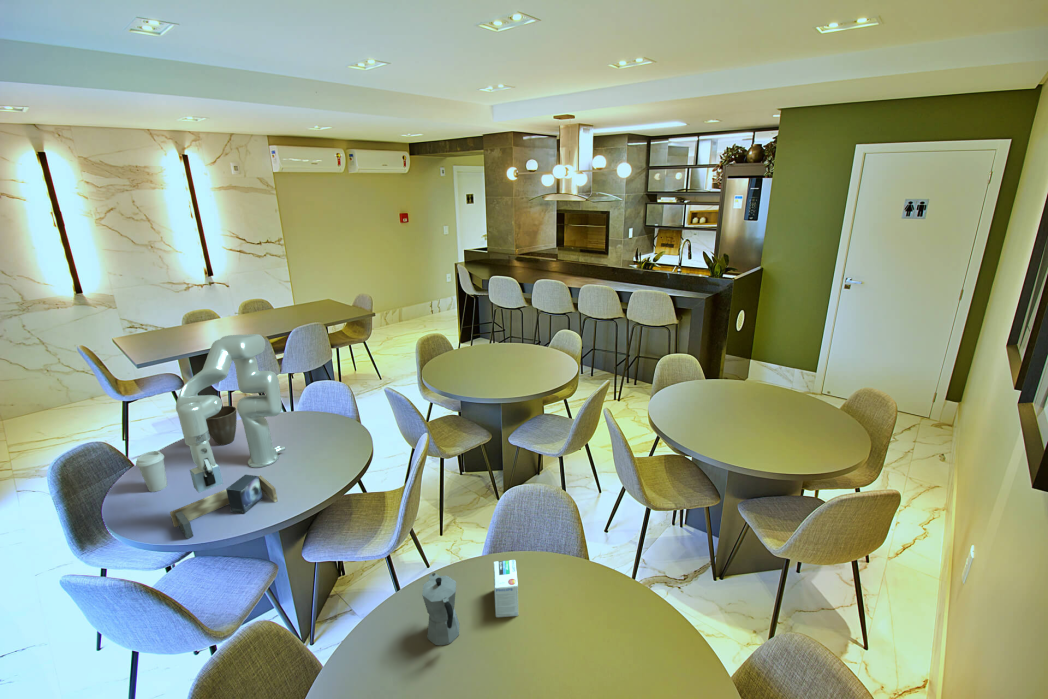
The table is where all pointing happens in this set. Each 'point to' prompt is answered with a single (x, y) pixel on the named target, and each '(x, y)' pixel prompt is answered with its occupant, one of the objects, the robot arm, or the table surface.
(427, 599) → the coffeepot
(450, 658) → the table surface
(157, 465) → the coffee cup
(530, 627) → the table surface
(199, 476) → the pale grey block
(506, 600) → the light bulb box
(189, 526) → the bookend
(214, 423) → the plant pot
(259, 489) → the small box
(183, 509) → the curved wooden plank
